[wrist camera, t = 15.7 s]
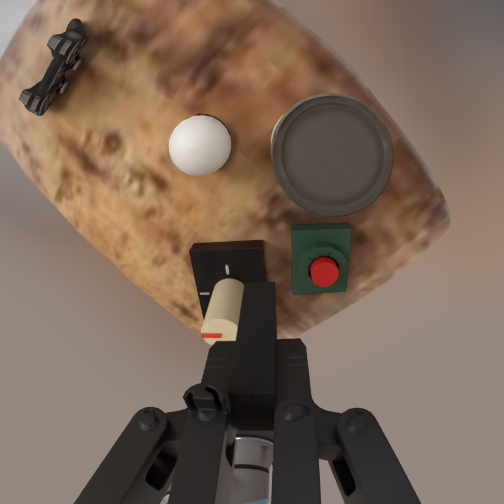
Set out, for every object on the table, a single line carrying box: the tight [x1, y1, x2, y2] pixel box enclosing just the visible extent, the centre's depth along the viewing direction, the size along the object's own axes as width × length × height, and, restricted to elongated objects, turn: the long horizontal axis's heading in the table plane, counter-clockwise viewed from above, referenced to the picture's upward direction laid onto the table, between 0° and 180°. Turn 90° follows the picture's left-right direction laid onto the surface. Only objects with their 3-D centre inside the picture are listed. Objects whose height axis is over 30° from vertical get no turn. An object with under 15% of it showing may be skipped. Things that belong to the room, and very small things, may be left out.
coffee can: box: [271, 93, 394, 217], centre depth 27 cm, size 10×10×14 cm
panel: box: [189, 240, 266, 319], centre depth 42 cm, size 14×10×3 cm
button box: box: [291, 223, 351, 295], centre depth 38 cm, size 10×8×4 cm
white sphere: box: [169, 114, 231, 176], centre depth 30 cm, size 10×7×7 cm
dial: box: [201, 278, 244, 346], centre depth 36 cm, size 5×5×9 cm
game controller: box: [19, 19, 88, 116], centre depth 25 cm, size 16×7×10 cm, turn 139°
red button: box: [310, 257, 339, 287], centre depth 36 cm, size 4×4×2 cm
